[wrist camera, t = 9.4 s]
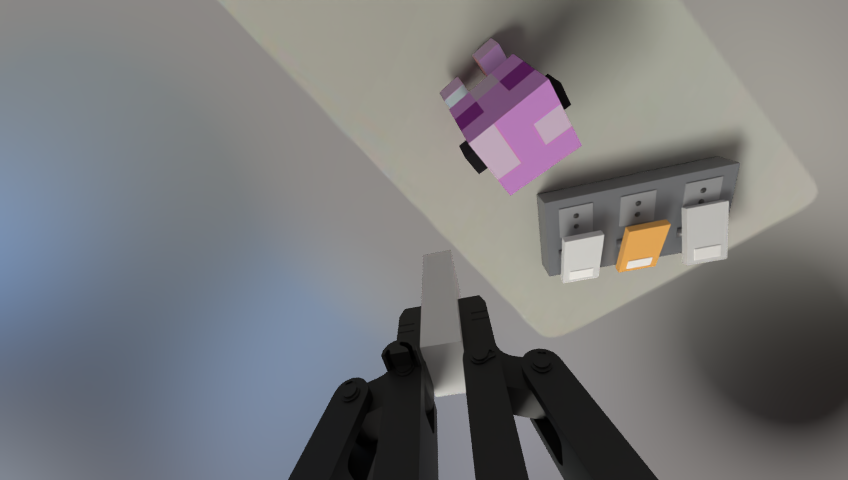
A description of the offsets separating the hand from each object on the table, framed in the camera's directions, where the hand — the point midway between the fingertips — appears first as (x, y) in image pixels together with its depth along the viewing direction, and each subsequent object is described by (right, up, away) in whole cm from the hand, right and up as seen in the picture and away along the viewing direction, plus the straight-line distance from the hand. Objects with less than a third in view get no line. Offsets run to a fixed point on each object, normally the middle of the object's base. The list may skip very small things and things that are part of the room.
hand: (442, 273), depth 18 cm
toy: (+7, +19, +24) cm, 31 cm away
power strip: (+28, +6, +30) cm, 41 cm away
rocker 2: (+29, +1, +27) cm, 40 cm away
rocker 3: (+37, +3, +26) cm, 45 cm away
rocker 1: (+21, 0, +28) cm, 35 cm away
